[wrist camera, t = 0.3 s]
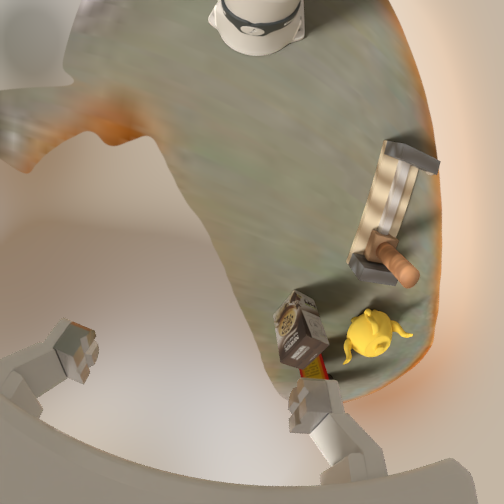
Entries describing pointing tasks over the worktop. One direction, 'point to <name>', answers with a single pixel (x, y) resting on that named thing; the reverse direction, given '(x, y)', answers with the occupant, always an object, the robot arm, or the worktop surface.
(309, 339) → the coffee box
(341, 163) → the worktop surface
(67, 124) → the worktop surface
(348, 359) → the teapot
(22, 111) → the worktop surface
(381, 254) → the wooden peg on plate
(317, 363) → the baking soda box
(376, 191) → the track
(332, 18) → the worktop surface
